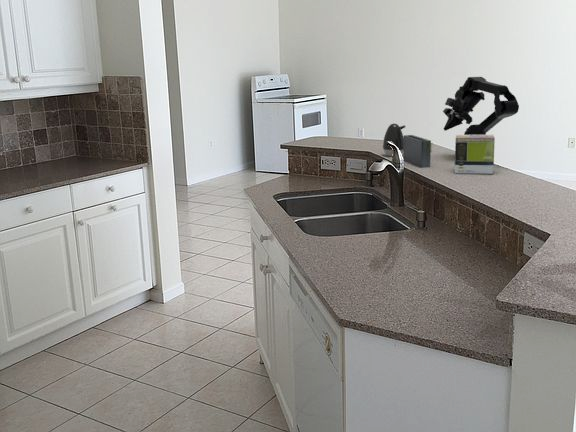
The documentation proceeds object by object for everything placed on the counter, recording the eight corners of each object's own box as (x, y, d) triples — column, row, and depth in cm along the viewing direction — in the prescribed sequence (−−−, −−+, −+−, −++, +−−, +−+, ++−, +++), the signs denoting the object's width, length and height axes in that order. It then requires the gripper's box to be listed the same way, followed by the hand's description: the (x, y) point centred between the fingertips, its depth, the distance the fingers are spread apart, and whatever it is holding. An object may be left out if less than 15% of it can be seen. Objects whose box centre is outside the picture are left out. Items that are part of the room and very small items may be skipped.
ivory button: (428, 151, 275) (428, 141, 274) (432, 152, 271) (432, 143, 270) (418, 151, 274) (418, 142, 273) (422, 153, 270) (422, 143, 269)
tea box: (492, 170, 261) (494, 134, 257) (493, 174, 252) (495, 137, 248) (454, 169, 265) (456, 133, 261) (453, 173, 256) (455, 136, 252)
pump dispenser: (403, 157, 295) (403, 124, 291) (380, 157, 299) (381, 124, 295) (406, 154, 305) (407, 122, 301) (384, 153, 308) (385, 122, 304)
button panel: (411, 159, 290) (412, 134, 287) (430, 166, 271) (430, 140, 268) (403, 160, 289) (403, 135, 286) (420, 167, 270) (421, 141, 267)
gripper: (447, 90, 289) (424, 115, 289) (467, 92, 271) (441, 119, 272) (463, 106, 292) (439, 132, 293) (483, 110, 275) (458, 137, 275)
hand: (444, 129), depth 283 cm, fingers closed
